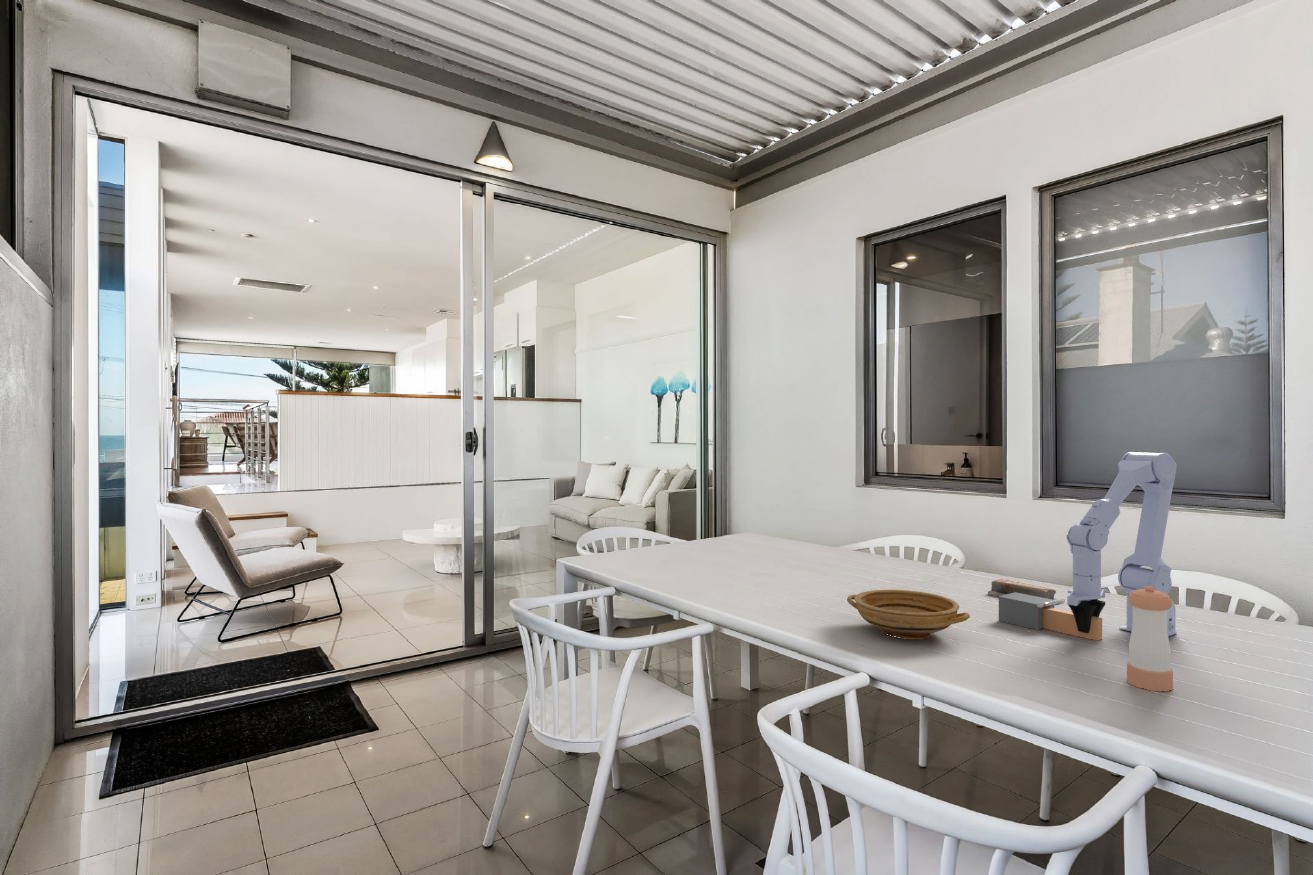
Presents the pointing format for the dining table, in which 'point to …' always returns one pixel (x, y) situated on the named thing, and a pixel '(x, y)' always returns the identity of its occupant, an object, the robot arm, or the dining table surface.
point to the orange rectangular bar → (1070, 623)
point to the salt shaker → (1149, 641)
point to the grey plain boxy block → (1023, 609)
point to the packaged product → (1022, 589)
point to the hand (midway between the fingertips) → (1086, 631)
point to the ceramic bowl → (907, 612)
